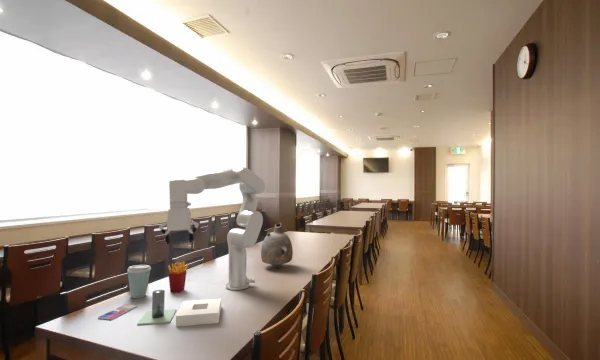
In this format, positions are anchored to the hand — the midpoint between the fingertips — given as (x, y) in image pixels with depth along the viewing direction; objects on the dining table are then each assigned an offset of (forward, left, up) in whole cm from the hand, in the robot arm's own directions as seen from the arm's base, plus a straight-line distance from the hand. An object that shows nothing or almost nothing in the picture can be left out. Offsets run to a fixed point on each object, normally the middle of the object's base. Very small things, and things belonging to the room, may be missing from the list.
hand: (179, 242), depth 138 cm
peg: (+6, +12, -28) cm, 31 cm away
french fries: (+5, -22, -29) cm, 36 cm away
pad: (+6, +12, -28) cm, 32 cm away
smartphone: (+24, +3, -29) cm, 38 cm away
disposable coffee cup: (+22, -17, -29) cm, 40 cm away
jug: (-52, -58, -29) cm, 83 cm away
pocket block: (-11, +14, -28) cm, 34 cm away
